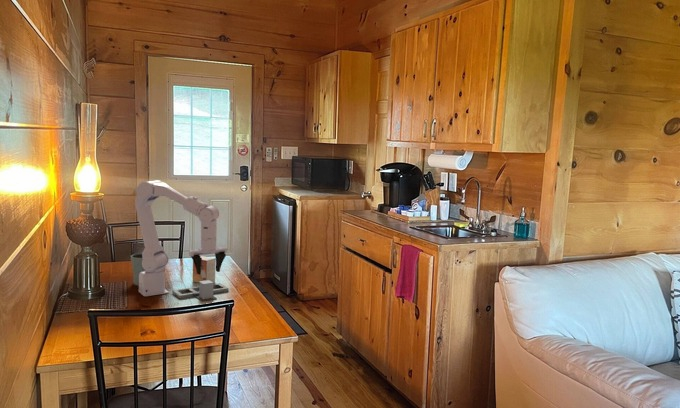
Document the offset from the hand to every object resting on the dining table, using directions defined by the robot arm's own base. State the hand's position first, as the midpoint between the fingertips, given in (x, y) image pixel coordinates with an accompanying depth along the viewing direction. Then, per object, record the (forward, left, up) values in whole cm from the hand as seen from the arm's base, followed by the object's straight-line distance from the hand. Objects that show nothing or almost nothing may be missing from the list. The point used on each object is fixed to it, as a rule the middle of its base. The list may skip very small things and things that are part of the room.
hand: (208, 272), depth 193 cm
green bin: (-15, +31, -10) cm, 36 cm away
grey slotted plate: (0, +7, -10) cm, 12 cm away
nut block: (-1, 0, -10) cm, 10 cm away
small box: (+7, +21, -10) cm, 25 cm away
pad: (-1, -1, -10) cm, 10 cm away
